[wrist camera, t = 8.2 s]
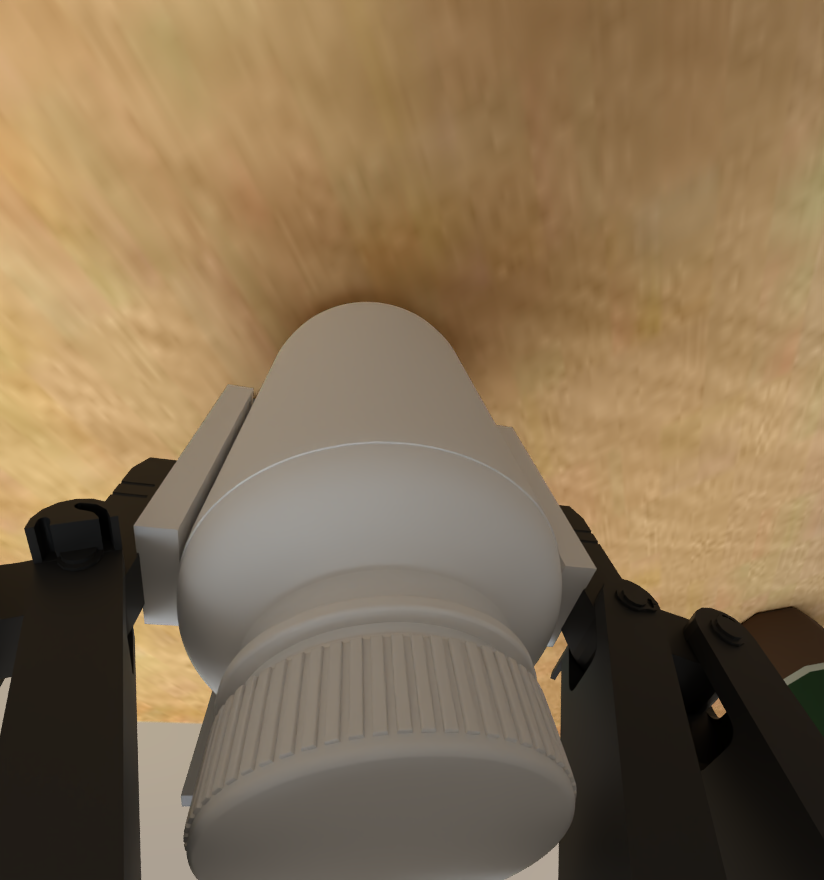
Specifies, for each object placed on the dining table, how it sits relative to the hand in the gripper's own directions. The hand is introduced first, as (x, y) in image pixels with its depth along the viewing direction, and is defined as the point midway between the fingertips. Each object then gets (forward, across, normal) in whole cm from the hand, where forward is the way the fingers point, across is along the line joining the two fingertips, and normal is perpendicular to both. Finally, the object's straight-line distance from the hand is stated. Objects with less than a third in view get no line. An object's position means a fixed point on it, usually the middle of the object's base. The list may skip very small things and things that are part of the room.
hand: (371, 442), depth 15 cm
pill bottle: (+4, 0, 0) cm, 4 cm away
